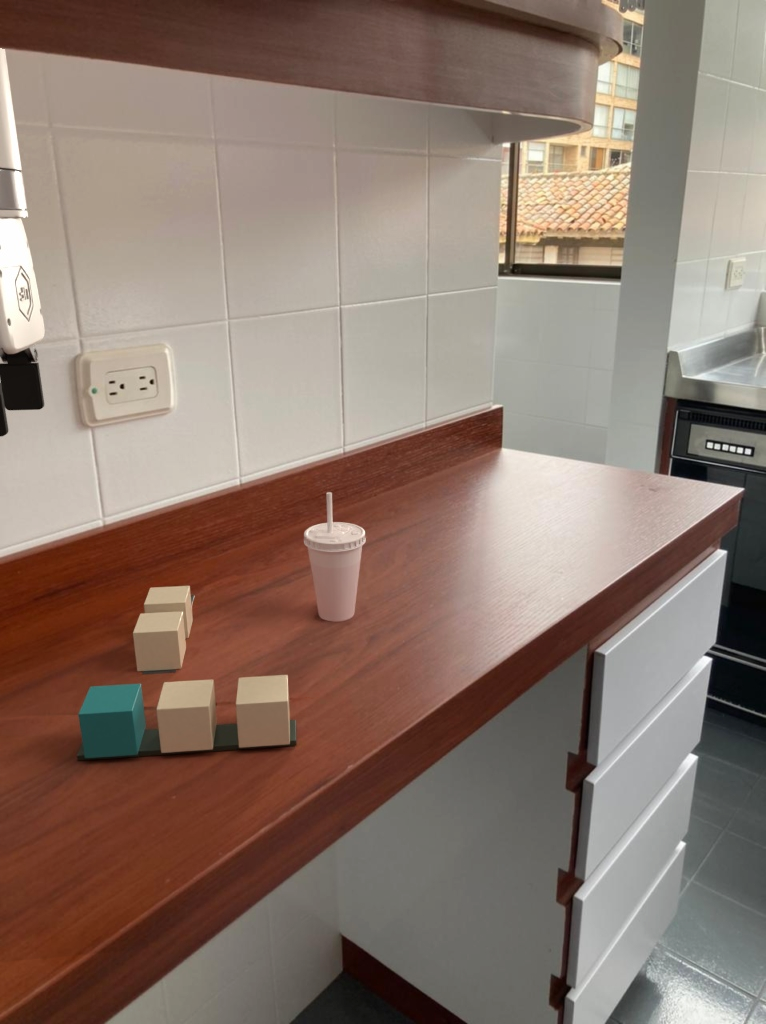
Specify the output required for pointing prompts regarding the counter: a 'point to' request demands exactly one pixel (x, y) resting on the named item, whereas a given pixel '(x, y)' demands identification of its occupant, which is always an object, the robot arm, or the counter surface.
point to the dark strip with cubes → (194, 719)
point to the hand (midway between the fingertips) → (7, 421)
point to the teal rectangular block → (112, 720)
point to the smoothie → (335, 565)
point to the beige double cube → (163, 629)
